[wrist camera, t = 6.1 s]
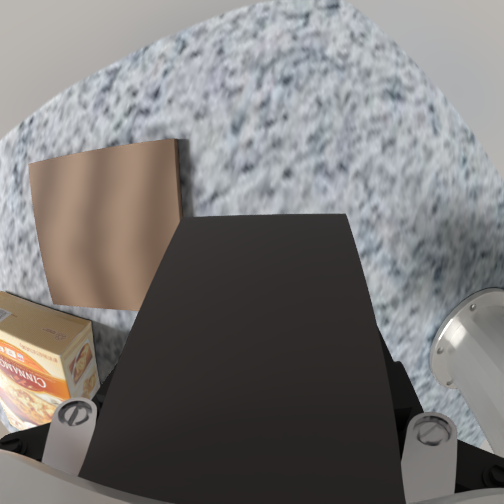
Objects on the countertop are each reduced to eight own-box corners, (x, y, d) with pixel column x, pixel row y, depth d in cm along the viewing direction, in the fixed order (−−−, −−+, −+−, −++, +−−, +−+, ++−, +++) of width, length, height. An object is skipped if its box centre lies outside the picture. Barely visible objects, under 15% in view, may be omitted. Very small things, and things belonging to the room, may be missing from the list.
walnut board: (177, 138, 24) (173, 138, 24) (192, 308, 29) (189, 313, 28) (34, 163, 26) (28, 163, 25) (58, 300, 30) (53, 304, 30)
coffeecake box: (59, 356, 24) (94, 467, 30) (93, 319, 31) (112, 431, 37) (-34, 313, 24) (9, 425, 31) (1, 289, 31) (31, 397, 37)
